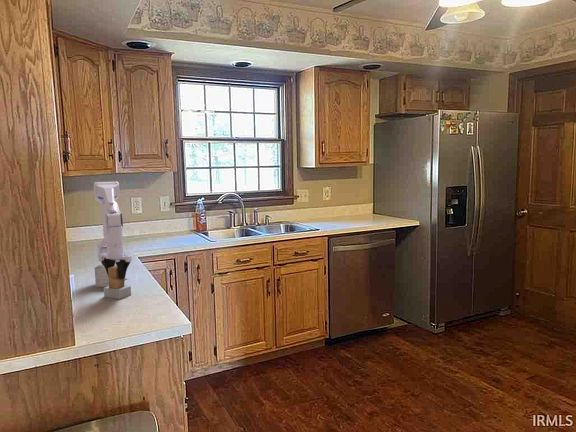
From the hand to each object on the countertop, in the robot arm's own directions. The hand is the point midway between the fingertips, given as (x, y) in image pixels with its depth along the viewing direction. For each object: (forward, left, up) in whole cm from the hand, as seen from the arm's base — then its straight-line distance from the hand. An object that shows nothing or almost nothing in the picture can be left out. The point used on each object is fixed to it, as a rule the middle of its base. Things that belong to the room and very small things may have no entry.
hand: (116, 278), depth 170 cm
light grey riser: (0, 0, -7) cm, 7 cm away
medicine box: (-9, -15, -7) cm, 19 cm away
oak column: (0, 0, -4) cm, 4 cm away
